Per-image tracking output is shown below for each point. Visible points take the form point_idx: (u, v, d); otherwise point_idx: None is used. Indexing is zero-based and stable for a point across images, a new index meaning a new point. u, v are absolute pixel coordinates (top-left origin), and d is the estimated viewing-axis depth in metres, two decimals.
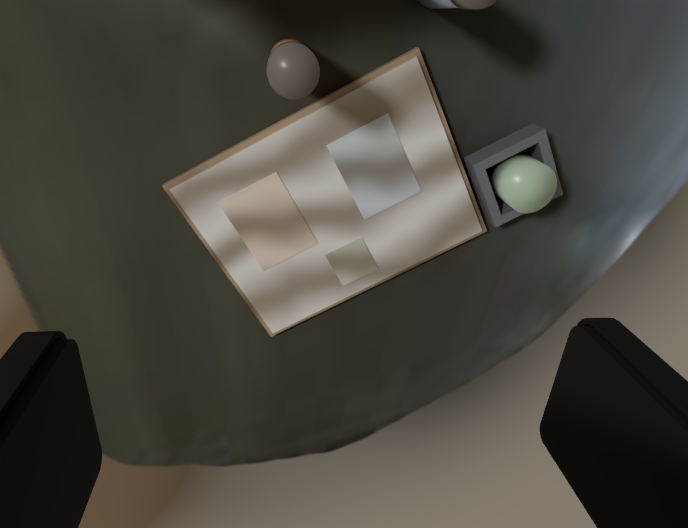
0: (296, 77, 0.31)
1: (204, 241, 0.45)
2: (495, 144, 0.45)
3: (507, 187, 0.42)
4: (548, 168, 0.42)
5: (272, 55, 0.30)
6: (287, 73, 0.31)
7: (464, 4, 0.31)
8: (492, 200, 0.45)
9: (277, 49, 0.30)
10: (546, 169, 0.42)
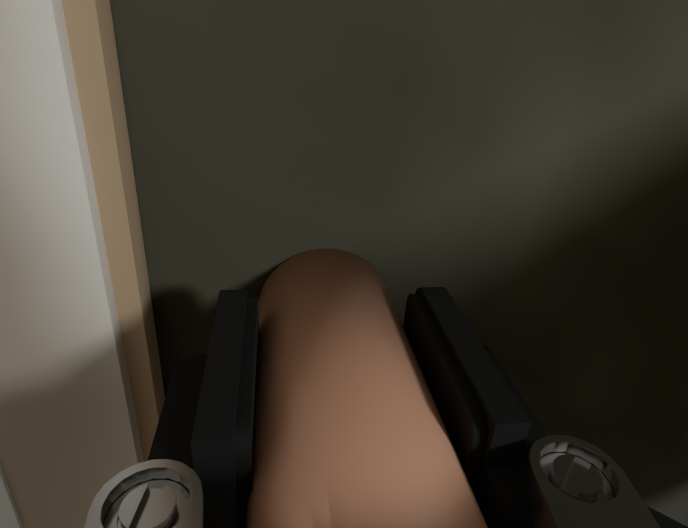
0: None
1: None
2: None
3: None
4: None
5: None
6: None
7: None
8: None
9: None
10: None
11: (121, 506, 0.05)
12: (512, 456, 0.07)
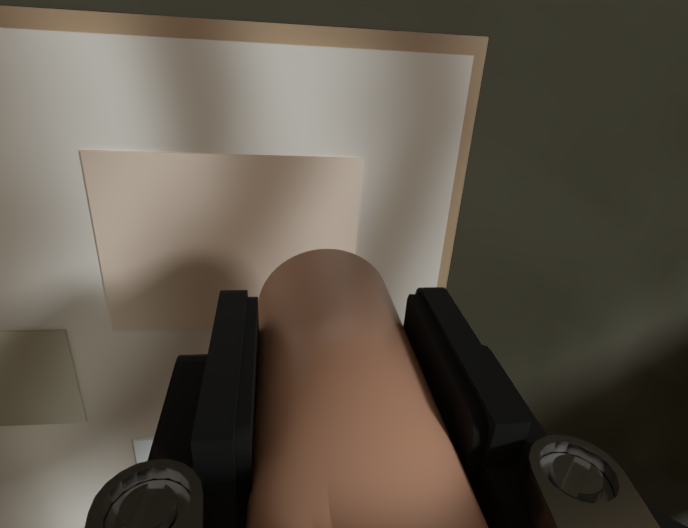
0: None
1: (268, 30, 0.13)
2: None
3: None
4: None
5: None
6: None
7: None
8: None
9: None
10: None
11: (121, 506, 0.05)
12: (512, 456, 0.07)
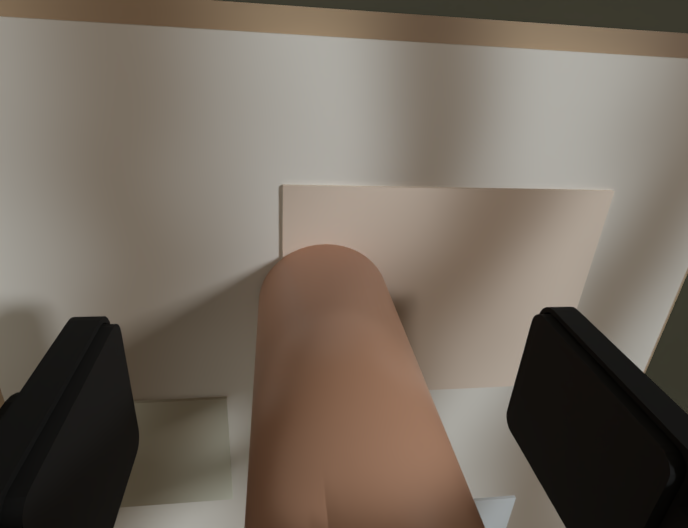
0: None
1: (529, 32, 0.10)
2: None
3: None
4: None
5: None
6: None
7: None
8: None
9: None
10: None
11: None
12: None
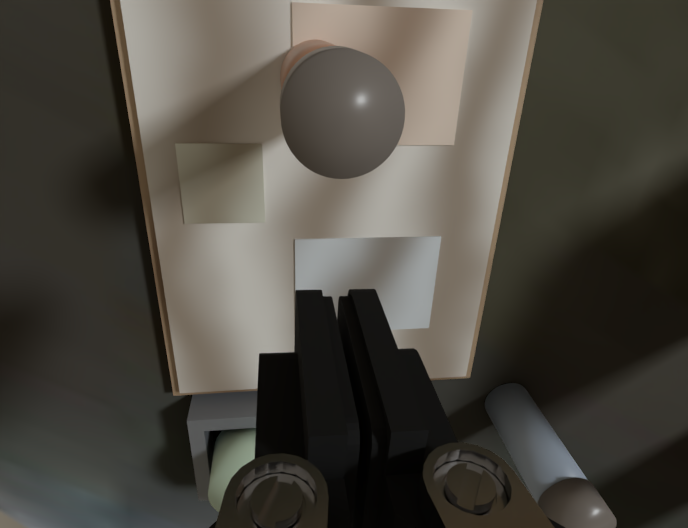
0: (329, 118, 0.13)
1: None
2: None
3: None
4: None
5: (397, 91, 0.13)
6: (347, 103, 0.13)
7: (576, 513, 0.25)
8: (236, 425, 0.29)
9: (402, 109, 0.13)
10: None
11: (253, 493, 0.06)
12: (413, 464, 0.07)
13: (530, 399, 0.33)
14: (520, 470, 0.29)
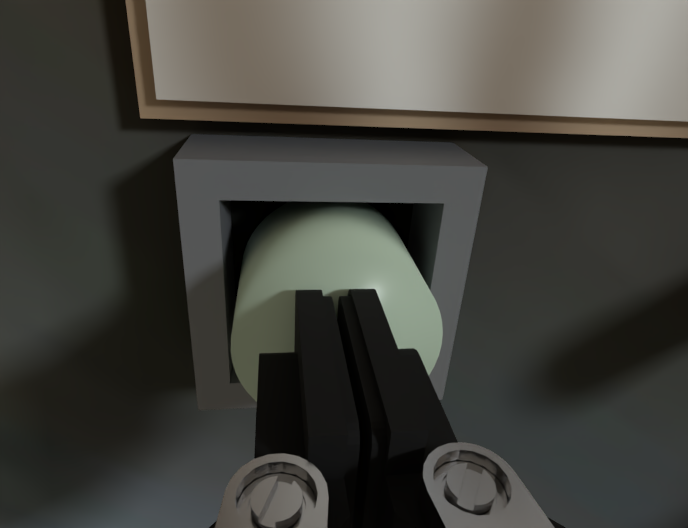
0: None
1: None
2: None
3: (400, 262, 0.10)
4: None
5: None
6: None
7: None
8: (307, 187, 0.11)
9: None
10: None
11: (253, 493, 0.06)
12: (413, 465, 0.07)
13: None
14: None
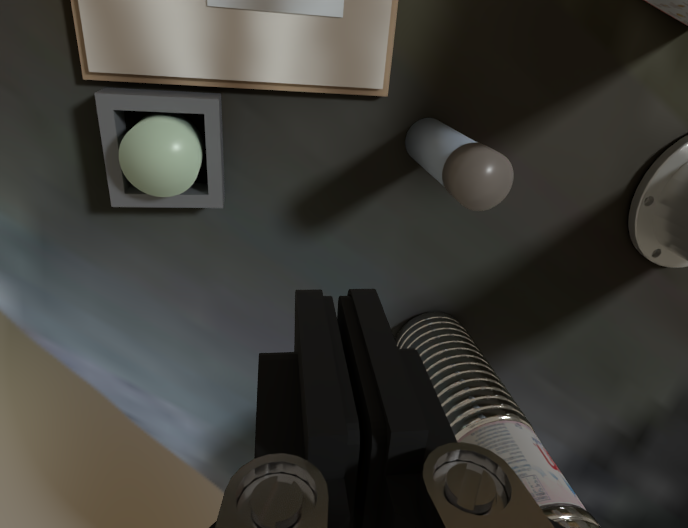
0: None
1: None
2: (222, 142, 0.32)
3: (177, 127, 0.28)
4: (181, 190, 0.30)
5: None
6: None
7: (473, 155, 0.26)
8: (147, 105, 0.29)
9: None
10: (181, 187, 0.30)
11: (253, 492, 0.06)
12: (413, 464, 0.07)
13: None
14: (430, 164, 0.30)
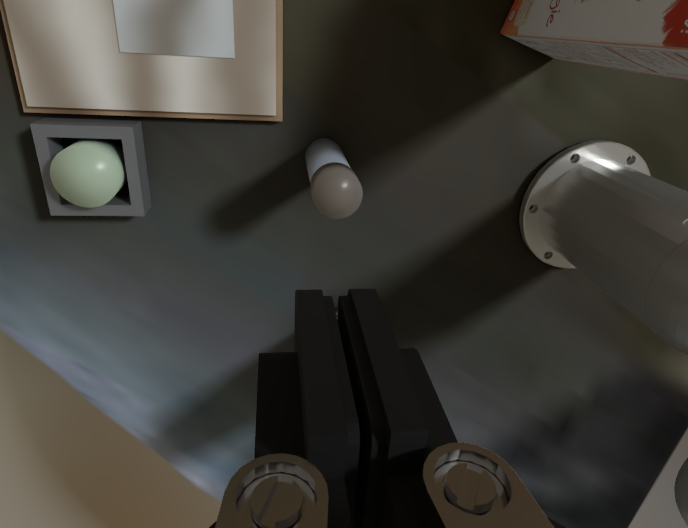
0: None
1: None
2: (143, 161, 0.39)
3: (96, 151, 0.35)
4: (104, 202, 0.36)
5: None
6: None
7: (324, 173, 0.31)
8: (74, 133, 0.35)
9: None
10: (103, 199, 0.36)
11: (253, 493, 0.06)
12: (413, 464, 0.07)
13: (336, 145, 0.39)
14: (309, 179, 0.36)
